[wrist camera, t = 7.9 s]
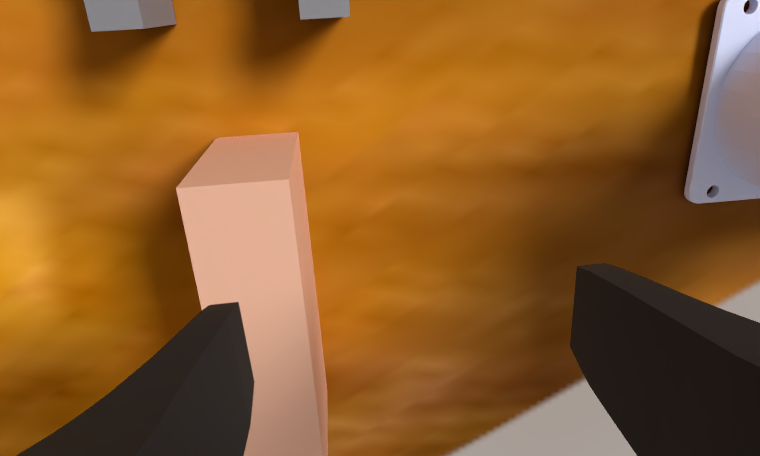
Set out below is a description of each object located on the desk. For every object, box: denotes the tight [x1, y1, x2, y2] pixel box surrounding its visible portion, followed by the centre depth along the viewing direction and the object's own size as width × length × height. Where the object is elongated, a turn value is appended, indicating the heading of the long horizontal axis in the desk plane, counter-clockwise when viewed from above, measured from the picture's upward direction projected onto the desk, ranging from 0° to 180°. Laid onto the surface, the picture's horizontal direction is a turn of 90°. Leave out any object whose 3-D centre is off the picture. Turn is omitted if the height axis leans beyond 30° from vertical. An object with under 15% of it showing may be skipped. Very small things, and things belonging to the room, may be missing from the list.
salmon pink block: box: [176, 132, 328, 456], centre depth 19 cm, size 3×12×6 cm, turn 3°
